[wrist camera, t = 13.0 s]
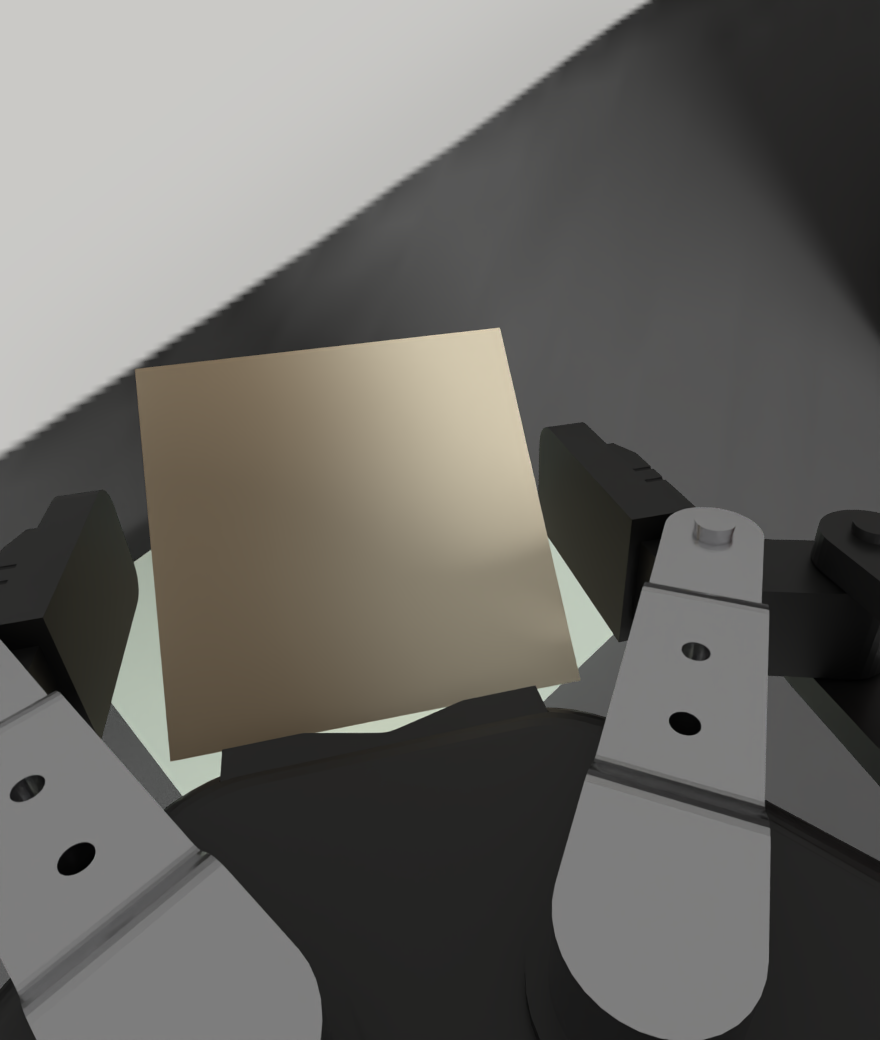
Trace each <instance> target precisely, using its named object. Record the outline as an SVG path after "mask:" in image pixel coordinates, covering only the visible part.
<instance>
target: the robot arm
mask: <svg viewBox="0 0 880 1040" xmlns="http://www.w3.org/2000/svg"><path fill="white" fill-rule="evenodd" d="M538 497H539V501H540V506H541V510H542V514H543V519H544V523H545V528H546V532H547V536H548V538H549V539H550V541H551V542H552V544H553V545H554V547H555V548H556V550H557V551H558V553H559V554H560V556H561V557H562V559H563V560H564V561H565V563H566V564H567V566H568V567H569V569H570V570H571V572H572V573H573V575H574V576H575V578H576V579H577V581H578V582H579V584H580V585H581V587H582V588H583V590H584V591H585V593H586V594H587V596H588V597H589V599H590V600H591V602H592V603H593V605H594V606H595V608H596V609H597V611H598V612H599V613H600V615H601V616H602V618H603V619H604V621H605V622H606V624H607V625H608V627H609V628H610V630H611V631H612V633H613V634H614V636H615V637H616V639H617V640H618V642H622V641H627V640H628V642H627V645H626V649H625V653H624V656H623V660H622V663H621V667H620V670H619V674H618V678H617V681H616V685H615V688H614V692H613V696H612V699H611V703H610V706H609V710H608V714H607V717H603V716H599V715H596V714H593V713H588V712H583V711H578V710H573V709H563V708H546V707H545V704H544V702H543V700H542V698H541V696H540V694H539V692H538V690H537V688H536V685H535V686H530V687H525V688H520V689H515V690H510V691H506V692H501V693H496V694H491V695H486V696H481V697H476V698H471V699H467V700H462V701H460V702H458V703H455V704H453V705H451V706H448V707H446V708H444V709H441V710H439V711H437V712H434V713H432V714H430V715H428V716H425V717H423V718H421V719H418V720H416V721H414V722H411V723H409V724H407V725H404V726H402V727H400V728H397V729H395V730H392V731H389V732H382V733H301V734H296V735H291V736H286V737H281V738H276V739H271V740H266V741H262V742H257V743H252V744H247V745H242V746H237V747H232V748H227V749H223V750H222V758H221V772H220V776H219V777H217V778H215V779H213V780H210V781H208V782H206V783H204V784H203V785H201V786H199V787H197V788H195V789H193V790H191V791H190V792H188V793H187V794H185V795H184V796H182V797H181V798H179V799H177V800H176V801H174V802H173V803H172V804H170V805H169V806H168V807H166V808H165V809H164V810H163V809H162V808H161V807H160V806H159V804H158V803H157V802H156V801H155V800H154V799H153V798H152V796H151V795H150V794H149V793H148V792H147V791H146V790H145V788H144V787H143V786H142V785H141V784H140V783H139V782H138V781H137V779H136V778H135V777H134V776H133V775H132V774H131V773H130V771H129V770H128V769H127V768H126V767H125V766H124V765H123V763H122V762H121V761H120V760H119V759H118V758H117V757H116V756H115V754H114V753H113V752H112V751H111V750H110V749H109V748H108V746H107V745H106V744H105V743H104V742H103V741H102V740H101V739H102V735H103V731H104V728H105V724H106V720H107V716H108V713H109V709H110V705H111V701H112V697H113V694H114V690H115V686H116V682H117V679H118V675H119V671H120V667H121V663H122V660H123V656H124V652H125V648H126V645H127V641H128V637H129V633H130V630H131V626H132V622H133V618H134V614H135V611H136V607H137V603H138V597H139V586H138V577H137V572H136V568H135V565H134V562H133V559H132V556H131V554H130V551H129V548H128V545H127V542H126V539H125V536H124V534H123V531H122V528H121V525H120V522H119V519H118V516H117V514H116V511H115V508H114V505H113V503H112V500H111V498H110V496H109V495H108V493H107V492H106V491H104V490H99V491H92V492H85V493H78V494H71V495H64V496H57V497H55V498H54V499H53V501H52V502H51V504H50V506H49V508H48V510H47V511H46V513H45V515H44V517H43V519H42V520H41V522H40V524H39V526H38V528H35V529H28V530H25V531H24V532H23V533H22V534H20V535H19V536H18V537H17V538H15V539H14V540H13V541H12V542H10V543H9V544H8V545H7V546H5V547H4V548H3V549H2V550H1V552H0V958H1V960H2V962H3V964H4V966H5V968H6V970H7V972H8V974H9V976H10V979H9V980H8V981H7V982H6V983H5V984H4V985H3V987H2V988H1V989H0V1040H880V861H878V860H876V859H875V858H873V857H871V856H869V855H867V854H865V853H863V852H862V851H860V850H858V849H856V848H854V847H852V846H850V845H849V844H847V843H845V842H843V841H841V840H839V839H837V838H835V837H834V836H832V835H830V834H828V833H826V832H824V831H822V830H821V829H819V828H817V827H815V826H813V825H811V824H809V823H808V822H806V821H804V820H802V819H800V818H798V817H796V816H794V815H793V814H791V813H789V812H787V811H785V810H783V809H781V808H780V807H778V806H776V805H774V804H772V803H770V802H768V801H767V800H765V768H766V727H767V686H768V676H784V677H785V679H786V680H787V681H788V683H789V684H790V685H791V686H792V687H793V688H794V689H795V691H796V692H797V693H798V694H799V695H800V696H801V697H802V699H803V700H804V701H805V702H806V703H807V704H808V705H809V706H810V708H811V709H812V710H813V711H814V712H815V713H816V714H817V716H818V717H819V718H820V719H821V720H822V721H823V722H824V724H825V725H826V726H827V727H828V728H829V729H830V730H831V731H832V733H833V734H834V735H835V736H836V737H837V738H838V739H839V741H840V742H841V743H842V744H843V745H844V746H845V747H846V749H847V750H848V751H849V752H850V753H851V754H852V755H853V756H854V758H855V759H856V760H857V761H858V762H859V763H860V764H861V766H862V767H863V768H864V769H865V770H866V771H867V772H868V774H869V775H870V776H871V777H872V778H873V779H874V780H875V781H876V783H877V784H878V785H879V786H880V513H877V512H871V511H864V510H843V511H837V512H833V513H830V514H827V515H826V516H824V517H823V518H822V519H821V520H820V523H819V526H818V530H817V533H816V537H815V541H806V540H770V539H764V534H763V532H762V530H761V529H760V527H759V526H758V525H757V524H756V523H754V522H753V521H752V520H750V519H748V518H747V517H745V516H742V515H740V514H738V513H735V512H732V511H728V510H724V509H719V508H711V507H695V506H694V505H693V504H692V503H691V502H689V501H688V500H687V499H686V498H685V497H684V496H683V495H682V494H681V493H680V492H678V491H677V490H676V489H675V488H674V487H673V486H672V485H671V484H670V483H668V482H667V481H666V480H663V479H662V476H661V475H660V474H659V473H657V472H656V471H655V470H654V469H651V468H650V465H649V464H648V463H646V462H645V461H644V460H643V459H642V458H641V457H640V456H639V455H638V454H636V453H635V452H632V451H630V450H628V449H625V448H623V447H621V446H618V445H616V444H614V443H611V444H606V443H605V442H604V441H603V440H602V439H601V438H600V437H599V436H598V435H597V434H596V433H595V432H594V431H593V430H591V429H590V428H589V427H588V426H587V425H586V424H585V423H583V422H581V423H574V424H567V425H560V426H553V427H546V428H544V429H543V430H542V432H541V436H540V448H539V491H538Z"/></svg>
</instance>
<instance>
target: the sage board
mask: <svg viewBox="0 0 880 1040" xmlns="http://www.w3.org/2000/svg"><path fill="white" fill-rule="evenodd" d="M548 541H549V545H550V549H551V554H552V558H553V562H554V567H555V571H556V576H557V580H558V584H559V589H560V593H561V597H562V602H563V606H564V610H565V615H566V619H567V624H568V628H569V632H570V637H571V641H572V645H573V650H574V654H575V658H576V663H577V667H578V668H579V667H580V666H581V665H582V664H583V663H584V662H585V661H586V660H587V659H588V658H589V657H590V656H591V655H592V654H593V653H594V652H595V651H596V650H598V649H599V648H600V647H601V646H602V645H603V644H604V643H605V642H606V641H607V640H608V639H609V638H610V637H611V636H612V635H613V633H612V631H611V630H610V628H609V627H608V625H607V624H606V622H605V621H604V619H603V618H602V616H601V615H600V613H599V612H598V611H597V609H596V608H595V606H594V605H593V603H592V602H591V600H590V599H589V597H588V596H587V594H586V593H585V591H584V590H583V588H582V587H581V585H580V584H579V582H578V581H577V579H576V578H575V576H574V575H573V573H572V572H571V570H570V569H569V567H568V566H567V564H566V563H565V561H564V560H563V559H562V557H561V556H560V554H559V553H558V551H557V550H556V548H555V547H554V545H553V544H552V542H551V541H550V539H549V538H548ZM134 565H135V568H136V572H137V577H138V586H139V597H138V603H137V607H136V611H135V614H134V618H133V622H132V626H131V630H130V633H129V637H128V641H127V645H126V648H125V652H124V656H123V660H122V663H121V667H120V671H119V675H118V679H117V682H116V686H115V690H114V694H113V697H112V701H111V703H112V704H113V706H114V707H115V708H116V709H117V711H118V712H119V713H120V715H121V716H122V717H123V719H124V720H125V721H126V723H127V724H128V725H129V726H130V728H131V729H132V730H133V732H134V733H135V734H136V736H137V737H138V738H139V740H140V741H141V742H142V744H143V745H144V746H145V747H146V749H147V750H148V751H149V753H150V754H151V755H152V757H153V758H154V759H155V761H156V762H157V763H158V765H159V766H160V767H161V768H162V770H163V771H164V772H165V774H166V775H167V776H168V778H169V779H170V780H171V782H172V783H173V784H174V786H175V787H176V788H177V789H178V791H179V792H180V793H181V795H182V796H184V795H185V794H187V793H188V792H190V791H191V790H193V789H195V788H197V787H199V786H201V785H203V784H204V783H206V782H208V781H210V780H213V779H215V778H217V777H219V776H220V772H221V758H222V752H217V753H212V754H207V755H202V756H197V757H192V758H187V759H182V760H177V761H172V762H170V753H169V742H168V731H167V720H166V709H165V698H164V687H163V676H162V664H161V653H160V642H159V631H158V620H157V609H156V598H155V587H154V575H153V564H152V553H151V550H150V551H149V552H147V553H146V554H144V555H143V556H142V557H140V558H139V559H138V560H136V561H135V562H134ZM560 685H561V684H560ZM560 685H555V686H550V687H545V688H540V689H537V690H538V692H539V694H540V696H541V698H542V700H543V701H544V700H545V699H546V698H547V697H548V696H549V695H550V694H551V693H553V692H554V691H555V690H556V689H557V688H558V687H559V686H560ZM444 708H446V707H444ZM444 708H439V709H434V710H429V711H424V712H419V713H414V714H408V715H403V716H398V717H393V718H388V719H383V720H378V721H373V722H368V723H363V724H358V725H353V726H348V727H343V728H338V729H333V730H328V731H323V732H318V733H382V732H389V731H392V730H395V729H397V728H400V727H402V726H404V725H407V724H409V723H411V722H414V721H416V720H418V719H421V718H423V717H425V716H428V715H430V714H432V713H434V712H437V711H439V710H441V709H444Z"/></svg>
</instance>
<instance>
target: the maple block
mask: <svg viewBox="0 0 880 1040" xmlns="http://www.w3.org/2000/svg"><path fill="white" fill-rule="evenodd" d="M135 375H136V386H137V397H138V409H139V420H140V431H141V442H142V453H143V464H144V475H145V486H146V498H147V509H148V520H149V531H150V542H151V553H152V564H153V575H154V587H155V598H156V609H157V620H158V631H159V642H160V653H161V664H162V676H163V687H164V698H165V709H166V720H167V731H168V742H169V753H170V762H172V761H177V760H182V759H187V758H192V757H197V756H202V755H207V754H212V753H217V752H222V750H223V749H227V748H232V747H237V746H242V745H247V744H252V743H257V742H262V741H266V740H271V739H276V738H281V737H286V736H291V735H296V734H301V733H318V732H323V731H328V730H333V729H338V728H343V727H348V726H353V725H358V724H363V723H368V722H373V721H378V720H383V719H388V718H393V717H398V716H403V715H408V714H414V713H419V712H424V711H429V710H434V709H439V708H444V707H448V706H451V705H453V704H455V703H458V702H460V701H462V700H467V699H471V698H476V697H481V696H486V695H491V694H496V693H501V692H506V691H510V690H515V689H520V688H525V687H530V686H535V685H536V688H537V689H540V688H545V687H550V686H555V685H560V684H565V683H570V682H575V681H580V676H579V672H578V667H577V663H576V658H575V654H574V650H573V645H572V641H571V637H570V632H569V628H568V624H567V619H566V615H565V610H564V606H563V602H562V597H561V593H560V589H559V584H558V580H557V576H556V571H555V567H554V562H553V558H552V554H551V549H550V545H549V541H548V536H547V532H546V528H545V523H544V519H543V514H542V510H541V506H540V501H539V497H538V493H537V488H536V484H535V479H534V475H533V471H532V466H531V462H530V458H529V453H528V449H527V445H526V440H525V436H524V431H523V427H522V423H521V418H520V414H519V410H518V405H517V401H516V397H515V392H514V388H513V383H512V379H511V375H510V370H509V366H508V362H507V357H506V353H505V349H504V344H503V340H502V335H501V331H500V328H493V329H485V330H476V331H467V332H458V333H449V334H440V335H431V336H423V337H414V338H405V339H396V340H387V341H378V342H369V343H361V344H352V345H343V346H334V347H325V348H316V349H307V350H299V351H290V352H281V353H272V354H263V355H254V356H245V357H237V358H228V359H219V360H210V361H201V362H192V363H183V364H175V365H166V366H157V367H148V368H139V369H135Z"/></svg>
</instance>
